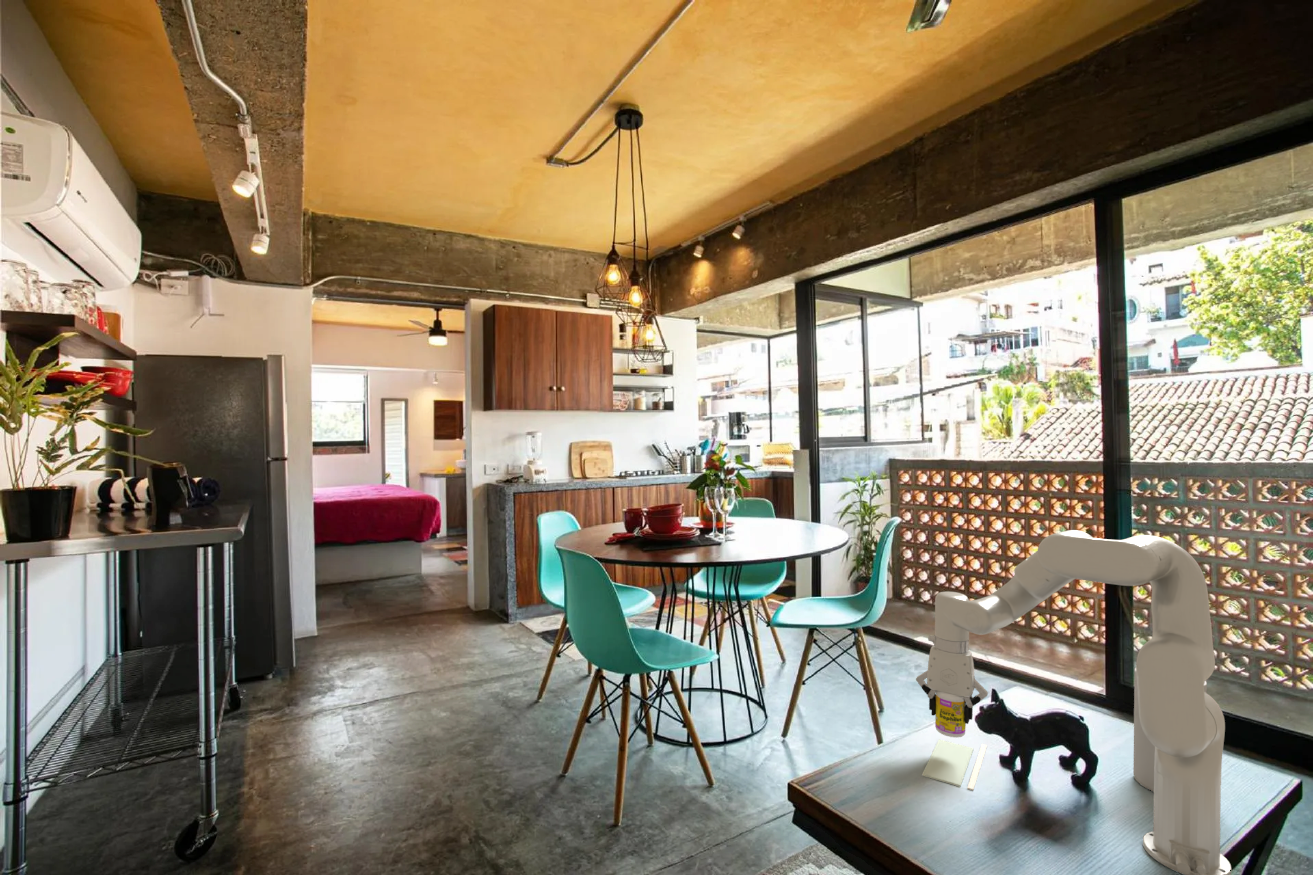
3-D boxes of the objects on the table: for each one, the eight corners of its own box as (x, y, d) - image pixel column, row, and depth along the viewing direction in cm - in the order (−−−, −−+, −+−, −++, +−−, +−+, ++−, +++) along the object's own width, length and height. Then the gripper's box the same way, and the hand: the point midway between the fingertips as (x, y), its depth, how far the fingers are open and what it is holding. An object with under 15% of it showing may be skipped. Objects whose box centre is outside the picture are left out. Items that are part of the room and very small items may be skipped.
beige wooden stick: (973, 790, 139) (973, 789, 139) (967, 788, 140) (967, 787, 140) (987, 746, 159) (987, 744, 159) (981, 744, 159) (981, 743, 159)
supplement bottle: (934, 734, 151) (934, 681, 151) (936, 723, 157) (936, 672, 157) (965, 741, 148) (965, 686, 148) (966, 729, 154) (966, 677, 154)
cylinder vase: (1178, 773, 147) (1179, 666, 146) (1220, 804, 134) (1222, 688, 134) (1120, 769, 148) (1122, 664, 148) (1157, 800, 135) (1159, 685, 135)
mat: (960, 786, 140) (960, 784, 140) (922, 775, 145) (922, 773, 145) (973, 749, 157) (973, 748, 157) (938, 740, 161) (938, 739, 161)
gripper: (910, 641, 154) (909, 713, 154) (989, 656, 144) (988, 733, 145) (917, 633, 160) (916, 702, 160) (993, 647, 151) (992, 721, 151)
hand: (950, 716), depth 152 cm, fingers closed on supplement bottle, 6 cm apart
